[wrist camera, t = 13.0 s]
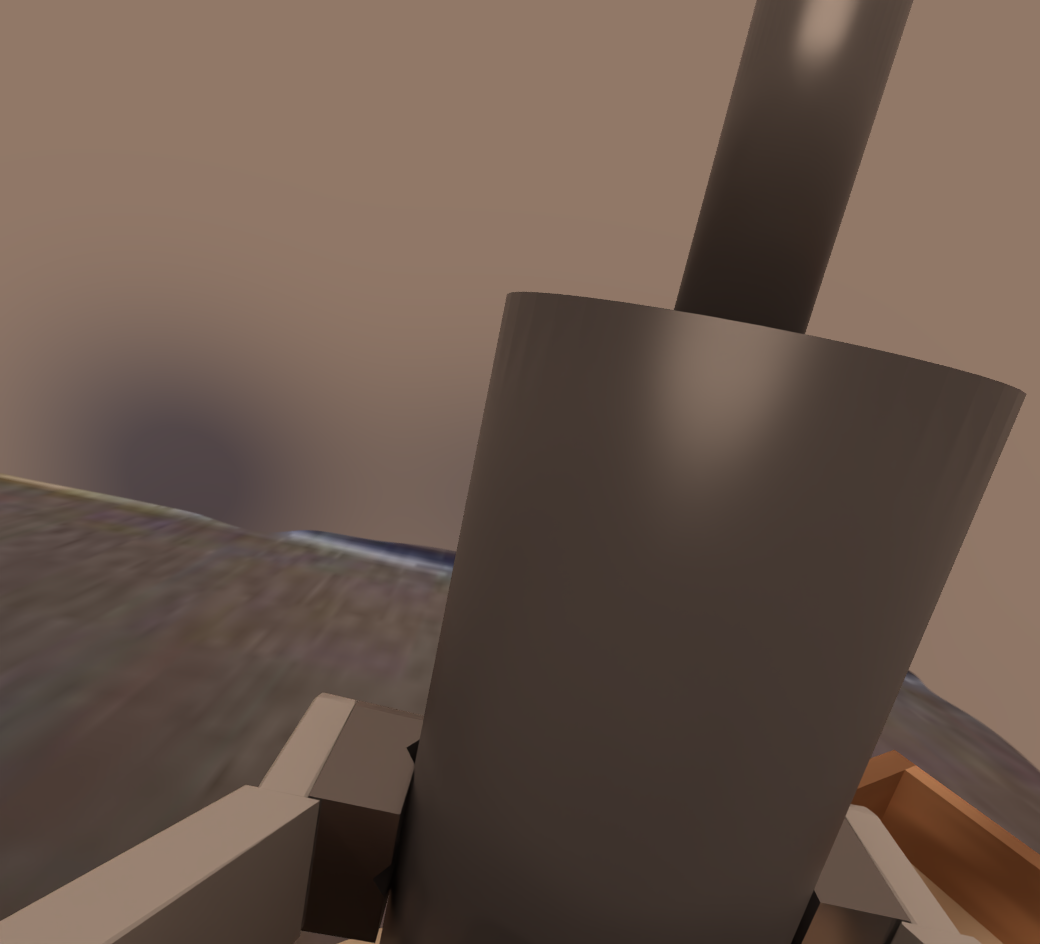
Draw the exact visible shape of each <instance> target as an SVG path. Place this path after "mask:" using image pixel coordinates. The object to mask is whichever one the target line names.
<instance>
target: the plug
mask: <svg viewBox="0 0 1040 944" xmlns="http://www.w3.org/2000/svg"><path fill="white" fill-rule="evenodd" d="M912 3H913V0H757V2H756V5H755V9H754V13H753V17H752V20H751V24H750V28H749V31H748V35H747V39H746V42H745V47H744V50H743V54H742V58H741V62H740V65H739V69H738V72H737V77H736V80H735V84H734V87H733V91H732V95H731V99H730V103H729V106H728V110H727V114H726V117H725V121H724V125H723V129H722V132H721V136H720V140H719V144H718V147H717V151H716V155H715V158H714V162H713V166H712V170H711V173H710V178H709V181H708V185H707V189H706V192H705V196H704V200H703V203H702V207H701V211H700V215H699V218H698V222H697V226H696V230H695V233H694V237H693V241H692V245H691V249H690V252H689V256H688V259H687V263H686V267H685V271H684V274H683V278H682V282H681V286H680V289H679V294H678V297H677V301H676V305H675V308H674V310H670V309H664V308H657V307H650V306H644V305H637V304H631V303H624V302H618V301H610V300H603V299H595V298H588V297H579V296H570V295H561V294H550V293H538V292H512V293H509V294H507V297H506V303H505V308H504V313H503V318H502V323H501V328H500V333H499V338H498V343H497V348H496V353H495V359H494V364H493V369H492V374H491V379H490V384H489V389H488V394H487V400H486V404H485V409H484V414H483V420H482V425H481V430H480V435H479V440H478V445H477V450H476V455H475V460H474V465H473V471H472V476H471V481H470V486H469V491H468V496H467V501H466V506H465V511H464V516H463V521H462V527H461V531H460V536H459V542H458V547H457V552H456V557H455V562H454V567H453V572H452V577H451V582H450V587H449V592H448V598H447V603H446V608H445V613H444V618H443V623H442V628H441V633H440V638H439V643H438V648H437V653H436V659H435V664H434V669H433V674H432V679H431V684H430V689H429V694H428V699H427V704H426V709H425V714H424V720H423V725H422V730H421V735H420V740H419V745H418V750H417V755H416V760H415V768H414V773H413V778H412V784H411V789H410V794H409V799H408V804H407V810H406V815H405V819H404V822H403V826H402V831H401V837H400V842H399V850H398V855H397V860H396V865H395V870H394V875H393V880H392V885H391V889H390V893H389V898H388V903H387V908H386V913H385V918H384V923H383V928H382V933H381V938H380V943H379V944H791V942H792V940H793V937H794V935H795V933H796V930H797V928H798V926H799V923H800V921H801V919H802V916H803V914H804V912H805V909H806V907H807V905H808V902H809V900H810V898H811V895H812V893H813V891H814V888H815V886H816V884H817V881H818V879H819V877H820V874H821V872H822V870H823V867H824V865H825V863H826V860H827V858H828V856H829V853H830V851H831V849H832V846H833V844H834V842H835V839H836V837H837V835H838V832H839V830H840V828H841V825H842V823H843V821H844V818H845V816H846V814H847V811H848V809H849V807H850V804H851V802H852V800H853V797H854V795H855V793H856V790H857V788H858V786H859V783H860V781H861V779H862V776H863V774H864V772H865V769H866V767H867V765H868V762H869V760H870V758H871V755H872V753H873V751H874V748H875V746H876V744H877V741H878V739H879V737H880V734H881V732H882V730H883V727H884V725H885V723H886V720H887V718H888V716H889V713H890V711H891V709H892V706H893V704H894V702H895V699H896V697H897V695H898V692H899V690H900V688H901V686H902V683H903V681H904V679H905V676H906V674H907V672H908V669H909V667H910V664H911V662H912V660H913V658H914V655H915V653H916V650H917V648H918V646H919V644H920V641H921V639H922V637H923V634H924V632H925V629H926V627H927V625H928V622H929V620H930V618H931V615H932V613H933V611H934V609H935V606H936V604H937V602H938V599H939V597H940V594H941V592H942V590H943V587H944V585H945V583H946V580H947V578H948V576H949V573H950V571H951V569H952V567H953V564H954V562H955V559H956V557H957V555H958V553H959V550H960V548H961V546H962V543H963V541H964V539H965V536H966V534H967V531H968V529H969V527H970V525H971V522H972V520H973V518H974V515H975V513H976V510H977V508H978V506H979V503H980V501H981V499H982V497H983V494H984V492H985V490H986V487H987V485H988V482H989V480H990V478H991V475H992V473H993V471H994V469H995V466H996V464H997V462H998V459H999V457H1000V455H1001V452H1002V450H1003V448H1004V445H1005V443H1006V441H1007V438H1008V436H1009V434H1010V431H1011V429H1012V427H1013V424H1014V422H1015V420H1016V417H1017V415H1018V413H1019V410H1020V408H1021V406H1022V403H1023V401H1024V399H1025V396H1026V393H1024V392H1023V391H1021V390H1020V389H1017V388H1015V387H1012V386H1010V385H1007V384H1004V383H1002V382H998V381H995V380H992V379H989V378H986V377H982V376H979V375H976V374H972V373H969V372H965V371H961V370H958V369H954V368H950V367H946V366H943V365H939V364H934V363H931V362H927V361H923V360H918V359H915V358H910V357H906V356H902V355H897V354H893V353H889V352H884V351H880V350H876V349H871V348H867V347H862V346H858V345H853V344H848V343H844V342H839V341H834V340H830V339H825V338H820V337H815V336H810V335H805V332H806V329H807V326H808V323H809V320H810V317H811V313H812V310H813V307H814V304H815V301H816V298H817V295H818V292H819V289H820V286H821V283H822V279H823V277H824V273H825V270H826V267H827V264H828V261H829V258H830V255H831V252H832V249H833V246H834V243H835V239H836V237H837V233H838V230H839V227H840V224H841V221H842V218H843V215H844V212H845V209H846V205H847V203H848V200H849V197H850V193H851V190H852V187H853V184H854V181H855V178H856V175H857V172H858V169H859V166H860V163H861V160H862V156H863V153H864V150H865V147H866V144H867V141H868V138H869V135H870V132H871V129H872V125H873V123H874V120H875V116H876V113H877V110H878V107H879V104H880V101H881V98H882V95H883V92H884V89H885V86H886V83H887V80H888V76H889V73H890V70H891V67H892V64H893V61H894V58H895V55H896V52H897V49H898V46H899V43H900V40H901V36H902V33H903V30H904V27H905V24H906V21H907V18H908V15H909V12H910V8H911V5H912Z"/></svg>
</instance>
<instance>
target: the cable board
mask: <svg viewBox="0 0 1040 944" xmlns="http://www.w3.org/2000/svg"><path fill="white" fill-rule="evenodd" d="M851 804H853V805H858V806H864V807H866V808H868V809H869V810H870V811H872V812H873V813H874V814H875V815H877V816H878V818H879V819H880V820H881V822H882V823H883V825H884V826H885V828H886V829H887V830H888V832H889V833H890V835H891V836H892V838H893V839H894V840H895V842H896V843H897V845H898V846H899V848H900V849H901V850H902V852H903V853H904V855H905V856H906V857H907V859H908V860H909V862H910V863H911V865H912V866H913V867H914V869H915V870H916V872H917V873H918V875H919V876H920V877H921V879H922V880H923V882H924V883H925V884H926V886H927V887H928V889H929V890H930V892H931V893H932V894H933V896H934V897H935V899H936V900H937V902H938V903H939V904H940V906H941V907H942V909H943V910H944V911H945V913H946V914H947V916H948V917H949V919H950V920H951V921H952V923H953V924H954V926H955V927H956V929H957V930H958V931H959V933H960V934H962V935H967V936H971V937H974V938H975V939H977V940H978V941H979V942H980V943H981V944H1040V855H1039V854H1038V853H1036V852H1035V851H1034V850H1032V849H1031V848H1029V847H1028V846H1027V845H1025V844H1024V843H1022V842H1021V841H1020V840H1018V839H1017V838H1016V837H1014V836H1013V835H1011V834H1010V833H1009V832H1007V831H1006V830H1004V829H1003V828H1002V827H1000V826H999V825H998V824H996V823H995V822H993V821H992V820H991V819H989V818H988V817H986V816H985V815H984V814H982V813H981V812H980V811H978V810H977V809H975V808H974V807H973V806H971V805H970V804H968V803H967V802H966V801H964V800H963V799H962V798H960V797H959V796H957V795H956V794H955V793H953V792H952V791H951V790H949V789H948V788H946V787H945V786H944V785H942V784H941V783H939V782H938V781H937V780H935V779H934V778H933V777H931V776H930V775H928V774H927V773H926V772H924V771H923V770H921V769H920V768H919V767H917V766H916V765H915V764H913V763H912V762H910V761H909V760H908V759H906V758H905V757H903V756H902V755H901V754H899V753H898V752H897V751H895V750H893V751H890V752H887V753H884V754H882V755H879V756H876V757H873V758H870V760H869V762H868V765H867V767H866V769H865V772H864V774H863V776H862V779H861V781H860V783H859V786H858V788H857V790H856V793H855V795H854V797H853V800H852V802H851ZM381 933H382V928H380V929H379V932H378V935H377V939H376V942H375V943H371V942H365V941H359V940H354V939H349V940H346V941H344V942H341V943H338V944H379V943H380V938H381Z"/></svg>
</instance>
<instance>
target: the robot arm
mask: <svg viewBox="0 0 1040 944" xmlns="http://www.w3.org/2000/svg"><path fill="white" fill-rule="evenodd" d="M423 720H424V716H423V715H419V714H415V713H410V712H406V711H402V710H398V709H393V708H389V707H385V706H381V705H377V704H372V703H368V702H364V701H359V702H358V701H356V700H353V699H349V698H344V697H340V696H336V695H331V694H327V693H321V694H320V695H319V696H318V697H316V698H315V699H314V700H313V702H312V703H311V705H310V707H309V708H308V710H307V711H306V713H305V714H304V716H303V718H302V719H301V721H300V722H299V724H298V725H297V727H296V729H295V730H294V732H293V733H292V735H291V736H290V738H289V740H288V741H287V743H286V744H285V746H284V747H283V749H282V750H281V752H280V754H279V755H278V757H277V758H276V760H275V761H274V763H273V765H272V766H271V768H270V769H269V771H268V772H267V774H266V776H265V777H264V779H263V780H262V782H261V783H260V785H259V787H254V786H248V785H245V786H243V787H241V788H239V789H237V790H236V791H234V792H232V793H230V794H228V795H227V796H225V797H223V798H221V799H219V800H218V801H216V802H214V803H212V804H210V805H209V806H207V807H205V808H203V809H201V810H200V811H198V812H196V813H194V814H192V815H191V816H189V817H187V818H185V819H183V820H182V821H180V822H178V823H176V824H174V825H173V826H171V827H169V828H167V829H165V830H164V831H162V832H160V833H158V834H156V835H155V836H153V837H151V838H149V839H147V840H146V841H144V842H142V843H140V844H138V845H137V846H135V847H133V848H131V849H129V850H128V851H126V852H124V853H122V854H120V855H119V856H117V857H115V858H113V859H111V860H110V861H108V862H106V863H104V864H102V865H101V866H99V867H97V868H95V869H93V870H92V871H90V872H88V873H86V874H84V875H83V876H81V877H79V878H77V879H75V880H74V881H72V882H70V883H68V884H67V885H65V886H63V887H61V888H59V889H58V890H56V891H54V892H52V893H50V894H49V895H47V896H45V897H43V898H41V899H40V900H38V901H36V902H34V903H32V904H31V905H29V906H27V907H25V908H23V909H22V910H20V911H18V912H16V913H14V914H13V915H11V916H9V917H7V918H5V919H4V920H2V921H0V944H293V943H294V942H295V941H296V940H297V939H298V938H299V937H300V931H307V932H313V933H318V934H324V935H330V936H336V937H342V938H348V939H354V940H359V941H365V942H371V943H375V942H376V939H377V935H378V932H379V928H380V925H381V921H382V918H383V914H384V910H385V907H386V903H387V900H388V896H389V893H390V889H391V885H392V880H393V875H394V870H395V865H396V860H397V855H398V850H399V842H400V837H401V831H402V826H403V822H404V819H405V815H406V810H407V804H408V799H409V794H410V789H411V784H412V778H413V773H414V768H415V760H416V755H417V750H418V745H419V740H420V735H421V730H422V725H423ZM791 944H981V943H980V942H979V941H978V940H977V939H975V938H974V937H971V936H967V935H962V934H960V933H959V931H958V930H957V929H956V927H955V926H954V924H953V923H952V921H951V920H950V919H949V917H948V916H947V914H946V913H945V911H944V910H943V909H942V907H941V906H940V904H939V903H938V902H937V900H936V899H935V897H934V896H933V894H932V893H931V892H930V890H929V889H928V887H927V886H926V884H925V883H924V882H923V880H922V879H921V877H920V876H919V875H918V873H917V872H916V870H915V869H914V867H913V866H912V865H911V863H910V862H909V860H908V859H907V857H906V856H905V855H904V853H903V852H902V850H901V849H900V848H899V846H898V845H897V843H896V842H895V840H894V839H893V838H892V836H891V835H890V833H889V832H888V830H887V829H886V828H885V826H884V825H883V823H882V822H881V820H880V819H879V818H878V816H877V815H875V814H874V813H873V812H872V811H870V810H869V809H868V808H866V807H864V806H858V805H853V804H850V807H849V809H848V811H847V814H846V816H845V818H844V821H843V823H842V825H841V828H840V830H839V832H838V835H837V837H836V839H835V842H834V844H833V846H832V849H831V851H830V853H829V856H828V858H827V860H826V863H825V865H824V867H823V870H822V872H821V874H820V877H819V879H818V881H817V884H816V886H815V888H814V891H813V893H812V895H811V898H810V900H809V902H808V905H807V907H806V909H805V912H804V914H803V916H802V919H801V921H800V923H799V926H798V928H797V930H796V933H795V935H794V937H793V940H792V942H791Z"/></svg>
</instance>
